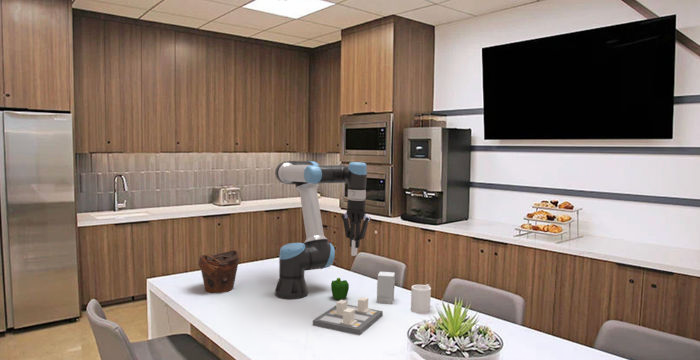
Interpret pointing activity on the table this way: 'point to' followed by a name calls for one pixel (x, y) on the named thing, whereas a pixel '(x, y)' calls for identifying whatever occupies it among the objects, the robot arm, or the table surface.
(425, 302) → the cup
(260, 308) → the table surface
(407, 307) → the table surface
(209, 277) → the chocolate chip muffin
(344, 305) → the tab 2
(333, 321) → the switch bank
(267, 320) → the table surface
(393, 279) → the supplement box
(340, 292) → the bell pepper
